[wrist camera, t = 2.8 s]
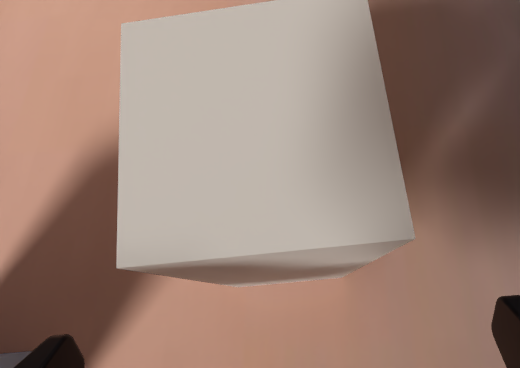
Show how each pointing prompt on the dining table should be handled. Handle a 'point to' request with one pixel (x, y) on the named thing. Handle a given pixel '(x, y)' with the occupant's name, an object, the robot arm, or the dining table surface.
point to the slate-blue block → (12, 359)
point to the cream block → (257, 145)
